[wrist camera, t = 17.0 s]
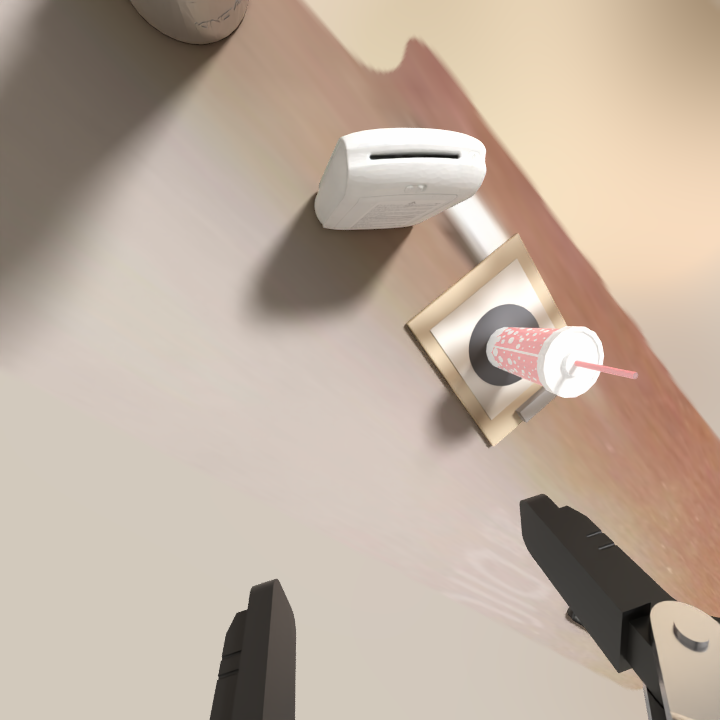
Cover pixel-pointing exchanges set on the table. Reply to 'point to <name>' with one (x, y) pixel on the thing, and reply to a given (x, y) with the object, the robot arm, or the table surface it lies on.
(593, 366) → the beverage cup
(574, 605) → the robot arm
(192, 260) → the table surface
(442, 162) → the photo printer
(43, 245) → the table surface
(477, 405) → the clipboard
